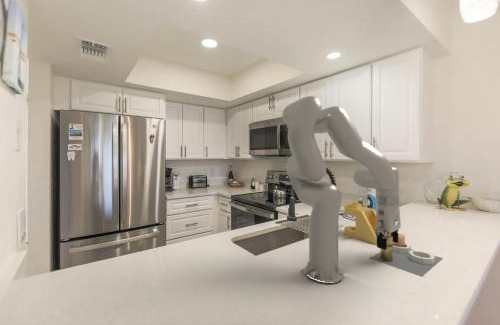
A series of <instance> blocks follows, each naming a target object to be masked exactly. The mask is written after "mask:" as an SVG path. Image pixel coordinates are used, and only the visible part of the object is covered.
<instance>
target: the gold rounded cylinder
mask: <svg viewBox="0 0 500 325" xmlns="http://www.w3.org/2000/svg"><path fill="white" fill-rule="evenodd" d="M382 234H384V232H382ZM386 239H387V249H386V250H384V249H381V248H379V252H380V259H381V260H383V261H386V262H392V261H393V236H391V233H388V232H387V234H386Z"/></svg>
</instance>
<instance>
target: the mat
mask: <svg viewBox="0 0 500 325" xmlns="http://www.w3.org/2000/svg"><path fill="white" fill-rule="evenodd" d="M411 250H413V248H411ZM434 256H435V263H433V264H432V265H429V264H421V263H417V262H414V261H412V260H411V259H410V258H409V253H398V252H395V251H393V261H392V262H386V261H383V260H381V259H380V251H379V252H378V253H376V254H374V255H372V256H370V257H369V259H370V260H373V261H376V262H379V263H382V264H385V265H387V266H389V267H393V268H396V269H399V270H402V271H404V272H407V273H410V274H412V275H415V276H419V277H424V276H425V275H426V274H427V273H428V272H430V271H431V269H433V268H434V267H435V266H436V265H437V264H438V263H440V262H441V261H443V259H444V258H443V257H440V256H436V255H434Z"/></svg>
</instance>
